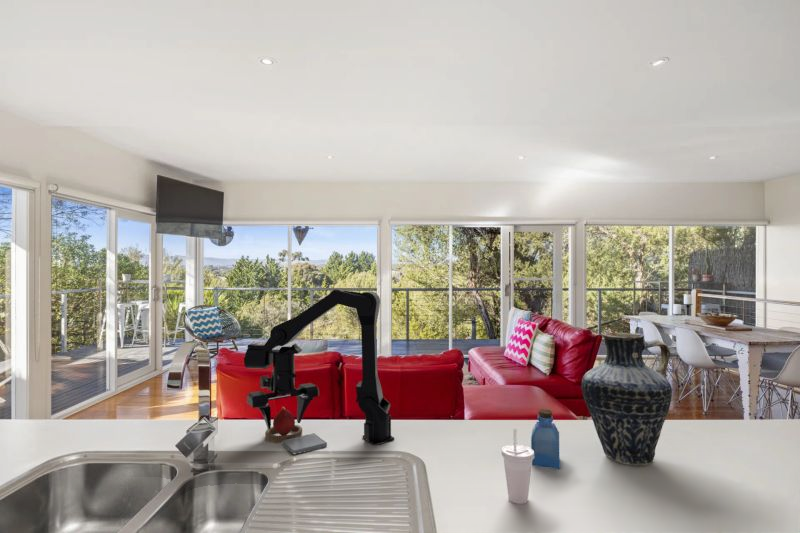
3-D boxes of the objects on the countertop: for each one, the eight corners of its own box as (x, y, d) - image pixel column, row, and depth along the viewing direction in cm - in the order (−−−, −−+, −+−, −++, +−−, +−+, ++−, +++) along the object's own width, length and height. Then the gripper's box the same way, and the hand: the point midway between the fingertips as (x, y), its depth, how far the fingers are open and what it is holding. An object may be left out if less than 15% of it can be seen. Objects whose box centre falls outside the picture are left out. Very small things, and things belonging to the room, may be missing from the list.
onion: (297, 432, 127) (297, 404, 127) (290, 440, 121) (290, 410, 121) (277, 432, 128) (277, 403, 128) (269, 439, 122) (269, 409, 122)
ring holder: (294, 427, 131) (294, 421, 131) (307, 437, 123) (307, 431, 123) (261, 434, 126) (261, 428, 126) (272, 445, 118) (272, 439, 118)
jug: (613, 479, 98) (612, 341, 98) (566, 444, 117) (566, 329, 118) (697, 472, 101) (696, 338, 102) (638, 439, 121) (638, 327, 121)
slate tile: (314, 436, 124) (314, 433, 124) (326, 446, 117) (326, 442, 117) (282, 444, 119) (282, 440, 119) (293, 454, 112) (293, 450, 112)
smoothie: (497, 491, 93) (497, 423, 93) (527, 490, 93) (527, 422, 94) (507, 508, 87) (507, 435, 87) (540, 506, 87) (539, 433, 87)
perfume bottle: (559, 458, 109) (558, 408, 109) (559, 469, 103) (559, 416, 103) (532, 454, 111) (532, 406, 111) (531, 465, 105) (530, 413, 106)
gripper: (304, 360, 137) (304, 412, 136) (241, 368, 126) (241, 424, 126) (319, 366, 127) (320, 422, 127) (253, 376, 117) (253, 436, 117)
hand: (284, 425), depth 125 cm, fingers open, 8 cm apart
